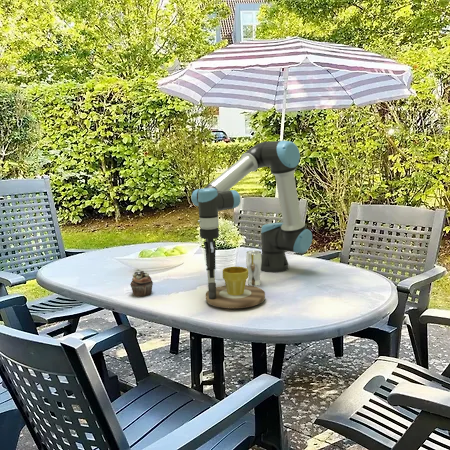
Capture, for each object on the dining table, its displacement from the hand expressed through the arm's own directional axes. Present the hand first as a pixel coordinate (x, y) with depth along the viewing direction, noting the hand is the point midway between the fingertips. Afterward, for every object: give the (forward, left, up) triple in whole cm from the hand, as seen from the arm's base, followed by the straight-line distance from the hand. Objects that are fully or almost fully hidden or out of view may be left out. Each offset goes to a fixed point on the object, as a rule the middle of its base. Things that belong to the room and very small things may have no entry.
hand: (211, 284), depth 193 cm
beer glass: (-22, -18, -7) cm, 29 cm away
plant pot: (-9, +2, -4) cm, 10 cm away
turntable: (-9, +2, -6) cm, 11 cm away
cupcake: (+28, -18, -7) cm, 34 cm away
